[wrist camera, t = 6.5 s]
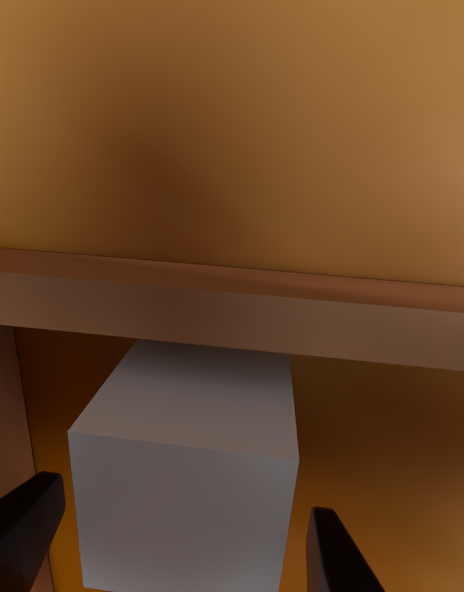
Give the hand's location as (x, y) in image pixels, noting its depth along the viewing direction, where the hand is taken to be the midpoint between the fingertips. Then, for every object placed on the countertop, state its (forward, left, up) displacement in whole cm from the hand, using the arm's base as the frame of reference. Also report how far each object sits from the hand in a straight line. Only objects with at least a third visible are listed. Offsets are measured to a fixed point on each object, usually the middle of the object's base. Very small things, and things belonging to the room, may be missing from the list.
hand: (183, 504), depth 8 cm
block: (0, 0, -3) cm, 3 cm away
